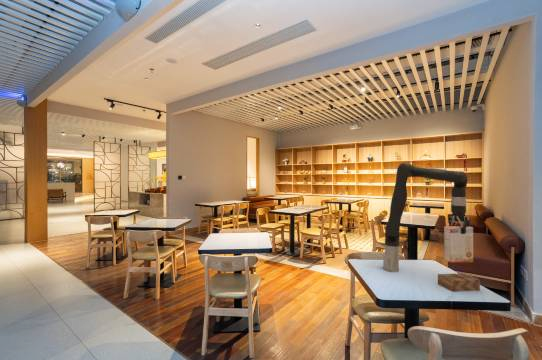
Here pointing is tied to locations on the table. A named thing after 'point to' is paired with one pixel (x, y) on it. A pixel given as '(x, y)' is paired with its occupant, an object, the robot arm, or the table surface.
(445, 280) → the walnut block
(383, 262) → the robot arm
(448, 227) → the cracker box
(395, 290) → the table surface
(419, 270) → the table surface
